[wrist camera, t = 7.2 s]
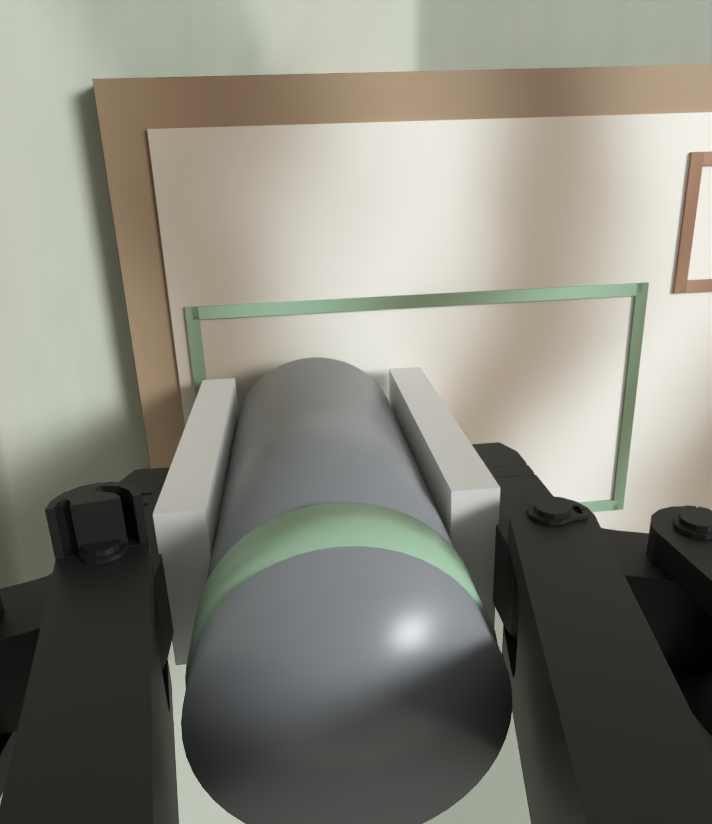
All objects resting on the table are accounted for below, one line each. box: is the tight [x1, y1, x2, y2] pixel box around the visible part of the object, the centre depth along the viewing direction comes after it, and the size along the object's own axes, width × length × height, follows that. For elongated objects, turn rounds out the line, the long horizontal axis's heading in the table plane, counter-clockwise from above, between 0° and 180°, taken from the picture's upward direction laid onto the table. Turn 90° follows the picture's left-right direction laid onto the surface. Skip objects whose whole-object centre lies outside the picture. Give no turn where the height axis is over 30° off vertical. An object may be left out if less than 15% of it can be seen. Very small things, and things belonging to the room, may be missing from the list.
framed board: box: [93, 65, 712, 533], centre depth 18 cm, size 18×14×1 cm
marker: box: [181, 357, 512, 824], centre depth 12 cm, size 4×4×10 cm
